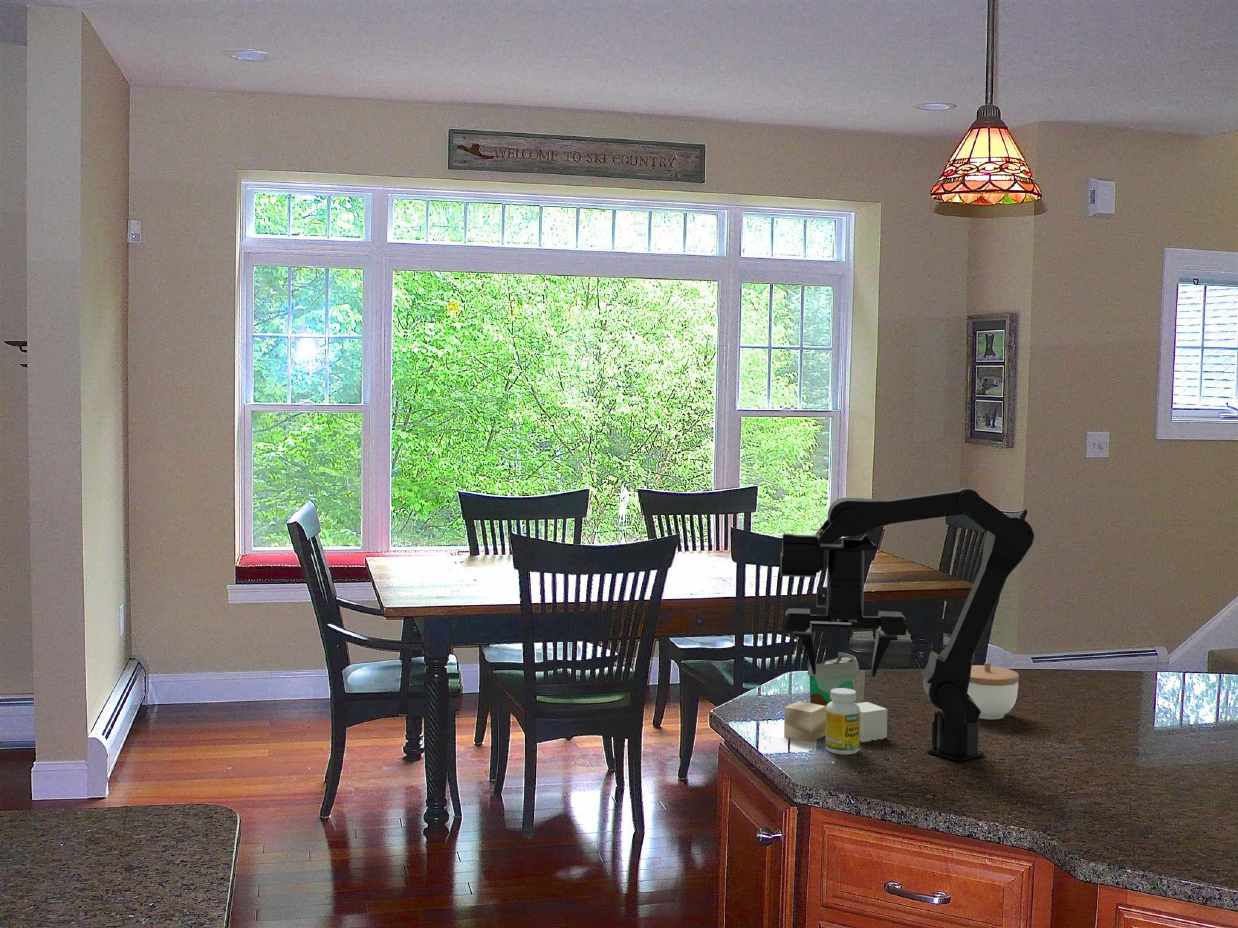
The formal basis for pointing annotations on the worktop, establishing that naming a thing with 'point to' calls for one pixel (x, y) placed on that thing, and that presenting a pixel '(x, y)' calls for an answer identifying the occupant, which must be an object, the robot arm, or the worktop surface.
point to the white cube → (872, 722)
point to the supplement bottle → (842, 722)
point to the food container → (832, 677)
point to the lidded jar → (993, 690)
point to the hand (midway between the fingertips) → (843, 675)
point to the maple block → (805, 721)
